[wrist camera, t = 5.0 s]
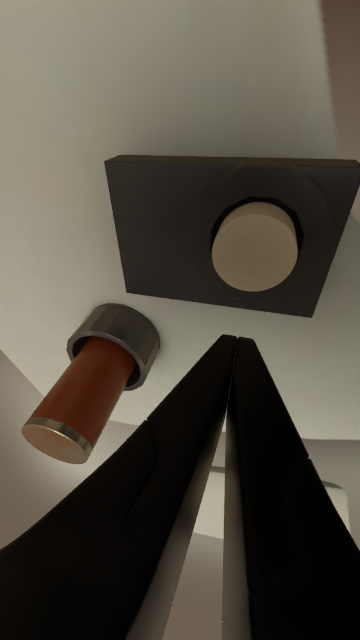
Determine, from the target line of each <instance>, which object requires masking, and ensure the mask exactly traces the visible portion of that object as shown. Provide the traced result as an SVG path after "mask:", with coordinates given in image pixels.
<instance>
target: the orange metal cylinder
mask: <svg viewBox="0 0 360 640" xmlns="http://www.w3.org/2000/svg"><path fill="white" fill-rule="evenodd" d="M136 364H137V361H136V360H135V358H134V357H133V355H132V354H131V353H130V352H128V351H127V350H126V349H125V348H123V347H122V346H121V345H120V344H118V343H115V342H113V341H111V340H109V339H107V338H104V337H98V336H91V337H90V339H89V340H88V341H87V343H86V344H85V345H84V347H83V348H82V349H81V351H80V352H79V353H78V354H77V356H76V357H75V358H74V360H73V361H72V362H71V364H70V365H69V366H68V368H67V369H66V370H65V372H64V373H63V374H62V376H61V377H60V378H59V380H58V381H57V382H56V383H55V385H54V386H53V387H52V389H51V390H50V391H49V393H48V394H47V395H46V397H45V398H44V399H43V401H42V402H41V403H40V405H39V406H38V407H37V409H36V410H35V411H34V412H33V414H32V415H31V416H30V418H29V419H28V420H27V422H26V423H25V424H24V426H23V427H22V430H21V431H22V434H23V436H24V438H25V439H27V441H28V442H29V443H30V444H31V445H32V446H34V447H35V448H37V449H38V450H40V451H41V452H43V453H45V454H46V455H48V456H51V457H52V458H55V459H57V460H60V461H63V462H67V463H72V464H83V463H85V462H86V461H87V460H88V458H89V456H90V454H91V452H92V450H93V448H94V446H95V444H96V442H97V440H98V438H99V437H100V435H101V433H102V431H103V429H104V427H105V425H106V423H107V421H108V419H109V417H110V415H111V413H112V411H113V409H114V407H115V405H116V403H117V401H118V400H119V398H120V396H121V394H122V392H123V390H124V388H125V386H126V384H127V382H128V380H129V378H130V376H131V374H132V372H133V370H134V368H135V366H136Z"/></svg>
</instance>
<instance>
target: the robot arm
mask: <svg viewBox="0 0 360 640" xmlns="http://www.w3.org/2000/svg"><path fill="white" fill-rule="evenodd" d="M236 344H237V345H236ZM235 351H236V352H235ZM234 357H235V359H234ZM233 364H234V365H233ZM232 371H233V372H232ZM231 378H232V379H231ZM230 384H231V386H230ZM229 391H230V392H229ZM228 398H229V399H228ZM227 405H228V406H227ZM226 410H227V414H226ZM225 415H226V451H225V501H224V553H223V603H222V604H223V606H222V621H223V623H222V640H360V550H359V549H358V547H357V545H356V544H355V542H354V540H353V538H352V537H351V535H350V533H349V531H348V530H347V528H346V526H345V524H344V523H343V521H342V519H341V517H340V516H339V514H338V512H337V510H336V509H335V507H334V505H333V503H332V501H331V499H330V497H329V495H328V493H327V491H326V489H325V487H324V485H323V483H322V481H321V479H320V477H319V475H318V473H317V471H316V469H315V467H314V465H313V463H312V461H311V459H308V457H309V455H308V452H307V450H306V448H305V446H304V444H303V442H302V440H301V438H300V436H299V434H298V431H297V429H296V427H295V425H294V423H293V421H292V419H291V417H290V415H289V413H288V410H287V408H286V406H285V404H284V402H283V400H282V398H281V396H280V394H279V392H278V390H277V387H276V385H275V383H274V381H273V379H272V377H271V375H270V373H269V371H268V369H267V366H266V364H265V362H264V360H263V358H262V356H261V354H260V352H259V350H258V348H257V346H256V343H255V341H254V340H253V339H251V338H244V337H238V339H237V337H236V336H232V335H225V334H223V335H221V336H220V337H219V338H218V340H217V341H216V342H215V343H214V344H213V345H212V346H211V347H210V348H209V350H208V351H207V352H206V353H205V354H204V355H203V356H202V357H201V358H200V360H199V361H198V362H197V363H196V364H195V365H194V366H193V367H192V368H191V370H190V371H189V372H188V373H187V374H186V375H185V376H184V377H183V378H182V380H181V381H180V382H179V383H178V384H177V385H176V386H175V387H174V388H173V390H172V391H171V392H170V393H169V394H168V395H167V396H166V397H165V398H164V400H163V401H162V402H161V403H160V404H159V405H158V406H157V407H156V408H155V410H154V411H153V412H152V413H151V414H150V415H149V416H148V417H147V420H145V421H144V422H143V423H142V424H141V425H140V426H139V427H138V428H137V429H136V431H135V432H134V433H133V434H132V435H131V436H130V437H129V438H128V439H127V440H126V441H125V442H124V443H123V444H122V445H121V446H120V447H119V448H118V449H117V451H115V452H114V453H113V454H112V455H111V456H110V457H109V458H108V459H107V460H106V461H105V462H104V463H103V464H102V465H100V466H99V467H98V468H97V469H96V470H95V471H94V472H93V473H92V474H91V475H90V476H88V477H87V478H86V479H85V480H84V481H83V482H82V483H81V484H79V485H78V486H77V487H76V488H75V489H74V490H73V491H72V492H71V493H69V494H68V495H67V496H66V497H65V498H64V499H63V500H62V501H60V502H59V503H58V504H57V505H56V506H55V507H54V508H53V509H51V510H50V511H49V512H48V513H47V514H46V515H45V516H44V517H43V518H41V519H40V520H39V521H38V522H37V523H36V524H34V525H33V526H32V527H31V528H30V529H28V530H27V531H26V532H25V533H23V534H22V535H21V536H20V537H18V538H17V539H15V540H14V541H13V542H11V543H10V544H8V545H7V546H5V547H4V548H2V549H0V640H162V638H163V634H164V631H165V627H166V624H167V620H168V617H169V613H170V609H171V606H172V603H171V602H173V599H174V596H175V592H176V588H177V585H178V581H179V578H180V574H181V571H182V567H183V564H184V560H185V557H186V553H187V550H188V546H189V543H190V539H191V536H192V532H193V529H194V525H195V522H196V518H197V515H198V511H199V508H200V504H201V501H202V497H203V494H204V490H205V487H206V483H207V480H208V476H209V473H210V469H211V466H212V462H213V458H214V455H215V451H216V448H217V444H218V441H219V437H220V434H221V430H222V427H223V423H224V419H225Z"/></svg>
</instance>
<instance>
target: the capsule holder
mask: <svg viewBox="0 0 360 640" xmlns="http://www.w3.org/2000/svg"><path fill="white" fill-rule="evenodd" d="M91 336H98V337H104V338H107V339H109V340H111V341H113V342H115V343H118V344H120V345H121V346H122V347H123V348H125V349H126V350H127V351H128V352H130V353H131V354H132V355H133V357H134V358H135V360H136V361H137V364H136V366H135V368H134V370H133V372H132V374H131V376H130V378H129V380H128V382H127V384H126V386H125V388H124V390H123V391H131V390H135V389H137V388H138V387H140V386H142V385H143V383H144V382H145V380H146V378H147V375H148V373H149V371H150V369H151V367H152V364H153V362H154V360H155V358H156V356H157V353H158V351H159V347H160V340H159V336H158V333H157V331H156V329H155V328H154V326H153V325H152V324H151V322H150V321H149V320H148V319H147V318H146V317H144V316H143V315H142V314H140V313H139V312H137V311H135V310H133V309H131V308H129V307H126V306H123V305H118V304H106V305H102V306H99V307H97V308H96V309H94V310H93V311H92V313H91V314H90V315H89V316H88V317H87V318H86V319H85V320H84V321H83V323H82V324H81V325H80V326H79V327H78V328H77V330H76V331H75V332H74V333H73V334H72V336H71V337H70V338H69V339H68V343H67V353H68V355H69V358H70V360H71V362H72V361H73V360H74V358H75V357H76V356H77V354H78V353H79V352H80V351H81V349H82V348H83V347H84V345H85V344H86V343H87V341H88V340H89V339H90V337H91Z"/></svg>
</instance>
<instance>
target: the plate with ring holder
mask: <svg viewBox="0 0 360 640" xmlns="http://www.w3.org/2000/svg"><path fill="white" fill-rule="evenodd" d="M104 163H105V169H106V175H107V181H108V186H109V192H110V198H111V204H112V210H113V216H114V222H115V227H116V233H117V239H118V245H119V251H120V257H121V263H122V268H123V274H124V280H125V286H126V292H127V293H132V294H140V295H147V296H154V297H162V298H169V299H176V300H184V301H191V302H198V303H206V304H213V305H221V306H228V307H235V308H243V309H250V310H257V311H265V312H272V313H279V314H287V315H294V316H302V317H309V318H312V316H313V314H314V311H315V308H316V305H317V302H318V300H319V297H320V294H321V291H322V288H323V286H324V283H325V280H326V277H327V275H328V272H329V269H330V266H331V263H332V261H333V258H334V255H335V252H336V249H337V247H338V244H339V241H340V238H341V236H342V233H343V230H344V227H345V224H346V222H347V219H348V216H349V213H350V210H351V208H352V205H353V202H354V199H355V196H356V194H357V191H358V188H359V185H360V163H359V162H357V161H356V160H343V159H294V158H245V157H196V156H147V155H119V156H116V157H114V158H111V159H108V160H106V161H104ZM252 202H265V203H270V204H273V205H275V206H277V207H279V208H281V209H282V210H283V211H285V212H286V213H287V215H288V216H289V217H290V219H291V220H292V222H293V225H294V228H295V233H296V240H297V247H298V255H297V260H296V263H295V266H294V268H293V270H292V271H291V273H290V274H289V275H288V276H287V277H286V279H284V280H283V281H282V282H281V283H279V284H278V285H276V286H274V287H272V288H269V289H266V290H263V291H244V290H240V289H237V288H234V287H232V286H230V285H229V284H227V283H226V282H225V281H224V280H223V279H222V278H221V277H220V276H219V275H218V273H217V271H216V270H215V267H214V265H213V261H212V247H213V243H214V241H215V238H216V236H217V233H218V231H219V228H220V226H221V224H222V222H223V221H224V219H225V218H226V217H227V216H228V215H229V214H230V213H231V212H232V211H233V210H234V209H236V208H238V207H240V206H242V205H244V204H248V203H252Z"/></svg>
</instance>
